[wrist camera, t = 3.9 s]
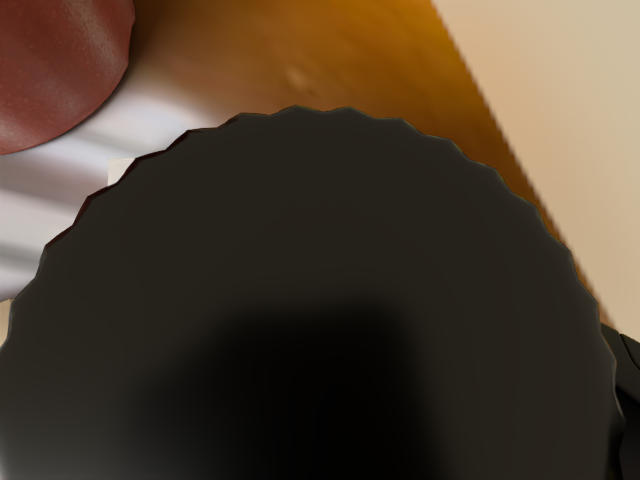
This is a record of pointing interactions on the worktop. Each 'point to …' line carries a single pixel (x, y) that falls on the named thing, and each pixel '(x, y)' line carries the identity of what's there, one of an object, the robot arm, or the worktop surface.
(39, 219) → the worktop surface
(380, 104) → the worktop surface
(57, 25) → the flower pot
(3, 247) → the worktop surface
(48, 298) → the supplement bottle
